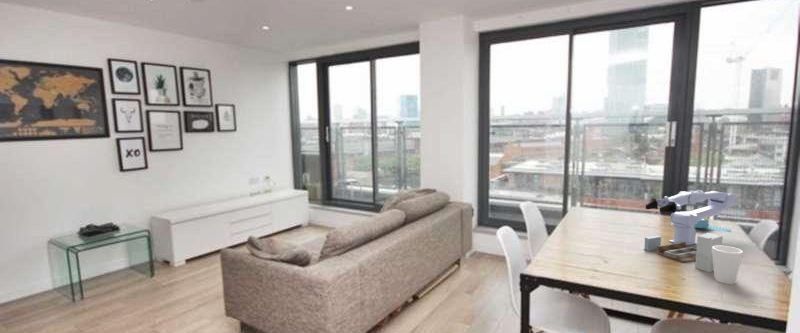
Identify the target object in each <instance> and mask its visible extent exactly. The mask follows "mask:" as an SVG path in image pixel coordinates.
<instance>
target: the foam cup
mask: <svg viewBox="0 0 800 333" xmlns="http://www.w3.org/2000/svg"><path fill="white" fill-rule="evenodd" d="M743 254H744V251H743V250H742V249H740V248H737V247H733V246H730V245H723V244H722V245H716V246H713V247H712V256H713V266H714V271H713V275H714V280H715V281H717V282H718V283H722V284H726V285H727V284H729V285H733V284H736V281H737V276H738V274H739V269H740V265H741V262H742V261H741V260H742V258H743Z"/></svg>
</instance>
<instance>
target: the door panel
mask: <svg viewBox="0 0 800 333" xmlns="http://www.w3.org/2000/svg"><path fill="white" fill-rule="evenodd" d="M660 245H662V236H659V235H653V236H646V237H644V247H643V248H644V250H646V251H652V250H657V246H660Z"/></svg>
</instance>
